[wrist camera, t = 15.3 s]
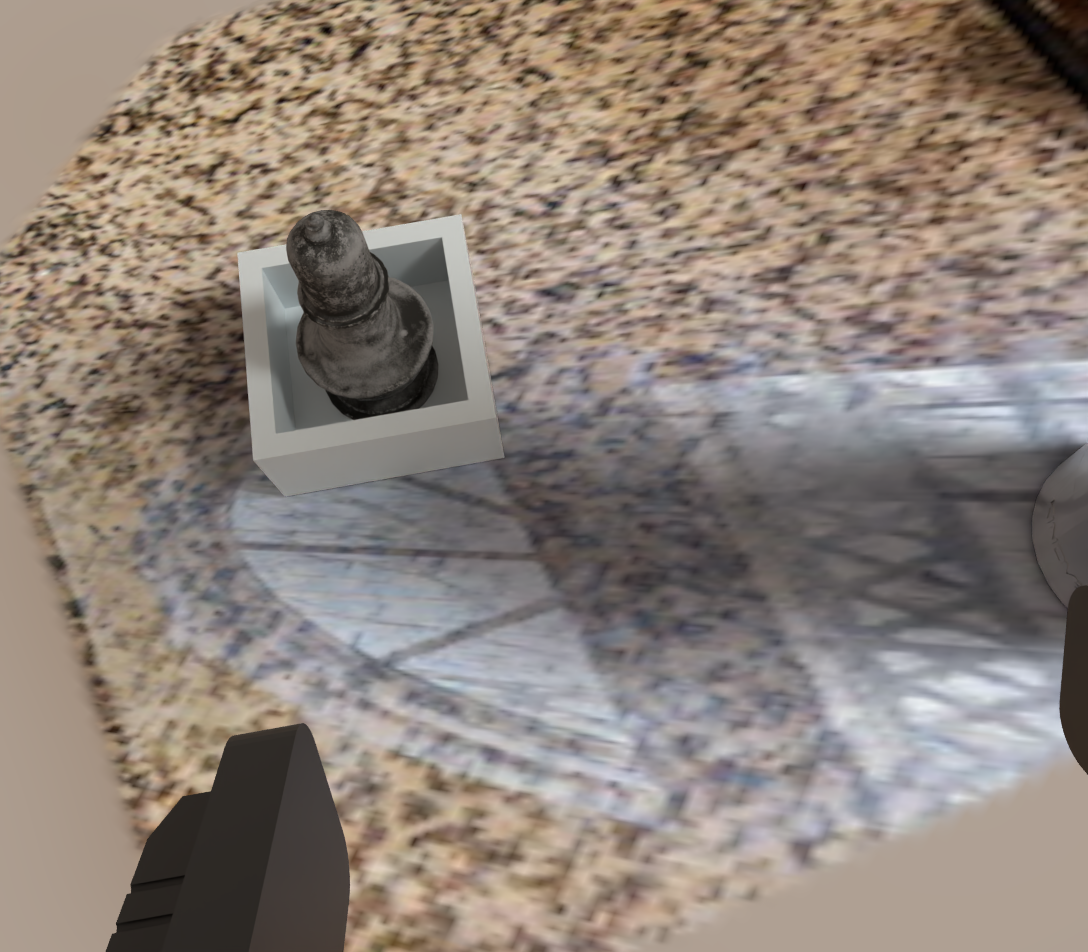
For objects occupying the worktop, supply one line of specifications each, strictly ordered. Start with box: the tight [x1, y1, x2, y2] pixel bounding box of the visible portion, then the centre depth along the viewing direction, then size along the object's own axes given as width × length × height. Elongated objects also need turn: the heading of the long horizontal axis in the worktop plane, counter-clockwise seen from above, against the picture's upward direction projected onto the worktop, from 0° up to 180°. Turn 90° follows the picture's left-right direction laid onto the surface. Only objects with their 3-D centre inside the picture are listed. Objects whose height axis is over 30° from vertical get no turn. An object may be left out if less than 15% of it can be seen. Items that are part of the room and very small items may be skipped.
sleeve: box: [238, 215, 505, 497], centre depth 44 cm, size 10×10×4 cm
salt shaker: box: [286, 210, 438, 420], centre depth 39 cm, size 6×6×12 cm
